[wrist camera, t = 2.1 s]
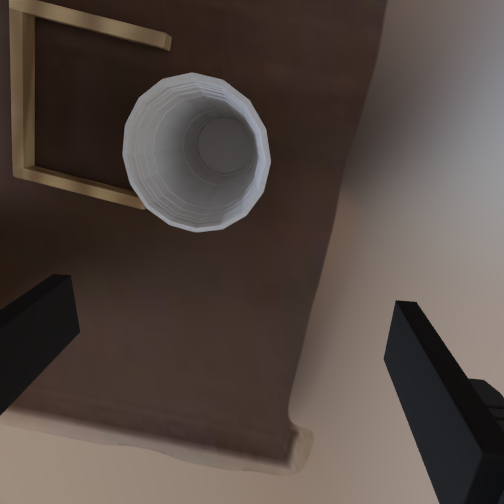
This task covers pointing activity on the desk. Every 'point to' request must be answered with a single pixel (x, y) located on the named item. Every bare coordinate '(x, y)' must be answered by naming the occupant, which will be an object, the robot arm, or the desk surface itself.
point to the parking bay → (23, 90)
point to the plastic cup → (196, 152)
